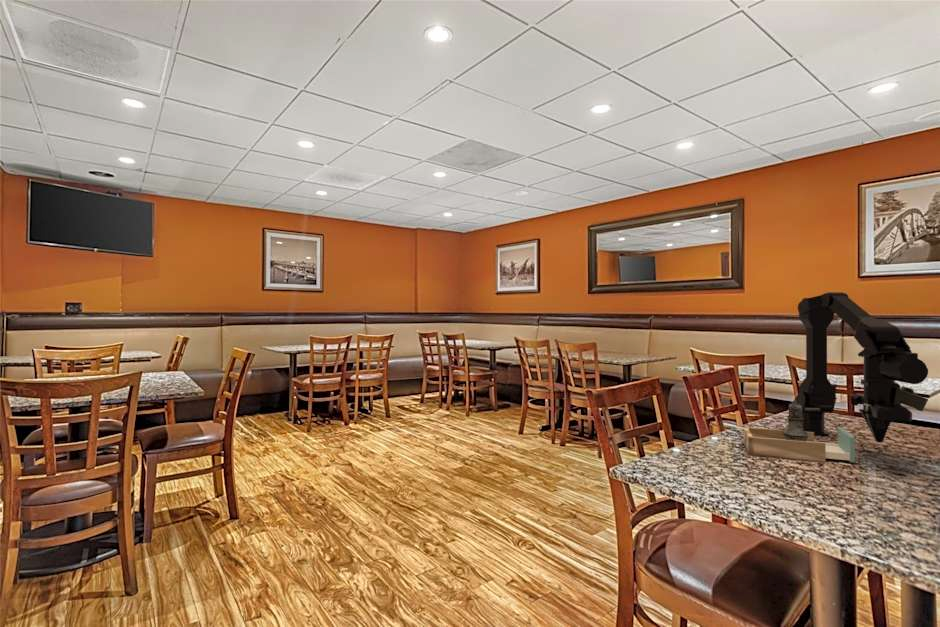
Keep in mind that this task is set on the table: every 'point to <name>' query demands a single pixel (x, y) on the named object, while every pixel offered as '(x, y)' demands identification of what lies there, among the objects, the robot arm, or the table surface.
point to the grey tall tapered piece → (795, 424)
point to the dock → (782, 445)
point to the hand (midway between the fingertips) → (879, 441)
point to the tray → (841, 447)
